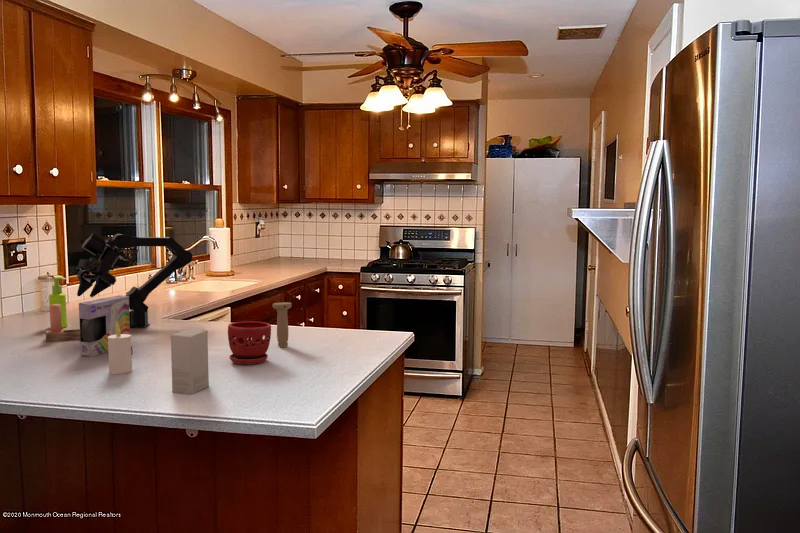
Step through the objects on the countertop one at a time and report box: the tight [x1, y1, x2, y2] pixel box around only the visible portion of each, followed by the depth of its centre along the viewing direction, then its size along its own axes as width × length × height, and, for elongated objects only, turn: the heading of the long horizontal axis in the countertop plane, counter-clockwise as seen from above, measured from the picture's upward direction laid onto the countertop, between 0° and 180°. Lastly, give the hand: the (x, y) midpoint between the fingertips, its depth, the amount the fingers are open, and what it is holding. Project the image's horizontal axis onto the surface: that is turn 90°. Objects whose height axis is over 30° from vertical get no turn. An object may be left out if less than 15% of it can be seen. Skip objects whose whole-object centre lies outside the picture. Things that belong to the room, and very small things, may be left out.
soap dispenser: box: [48, 276, 68, 329], centre depth 268 cm, size 6×7×20 cm
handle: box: [272, 301, 292, 348], centre depth 232 cm, size 5×6×15 cm
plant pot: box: [227, 321, 272, 366], centre depth 210 cm, size 13×13×12 cm
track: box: [45, 328, 80, 343], centre depth 247 cm, size 16×7×4 cm, turn 116°
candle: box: [107, 321, 133, 375], centre depth 198 cm, size 6×6×15 cm
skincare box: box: [170, 328, 210, 395], centre depth 178 cm, size 8×7×16 cm
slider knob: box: [49, 304, 64, 334], centre depth 245 cm, size 4×5×11 cm
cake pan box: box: [78, 294, 131, 358], centre depth 225 cm, size 19×5×18 cm, turn 160°
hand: (84, 296), depth 254 cm, fingers open, 9 cm apart
